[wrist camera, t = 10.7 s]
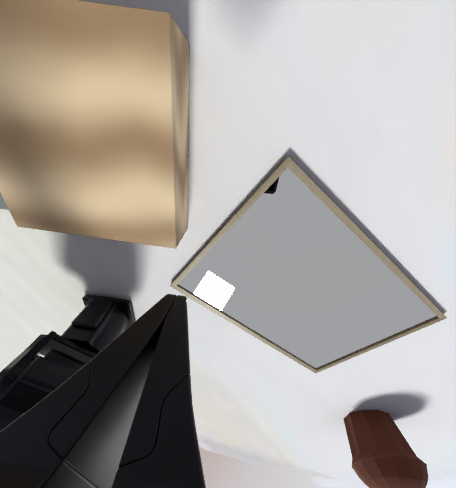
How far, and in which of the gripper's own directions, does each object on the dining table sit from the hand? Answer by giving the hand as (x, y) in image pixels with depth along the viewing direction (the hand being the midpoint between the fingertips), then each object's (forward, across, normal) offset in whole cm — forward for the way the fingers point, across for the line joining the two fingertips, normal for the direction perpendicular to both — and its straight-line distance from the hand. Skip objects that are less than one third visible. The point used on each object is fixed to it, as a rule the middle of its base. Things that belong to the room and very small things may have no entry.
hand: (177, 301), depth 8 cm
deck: (+12, +10, -4) cm, 16 cm away
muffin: (+12, -35, +42) cm, 56 cm away
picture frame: (+13, -12, +10) cm, 20 cm away
